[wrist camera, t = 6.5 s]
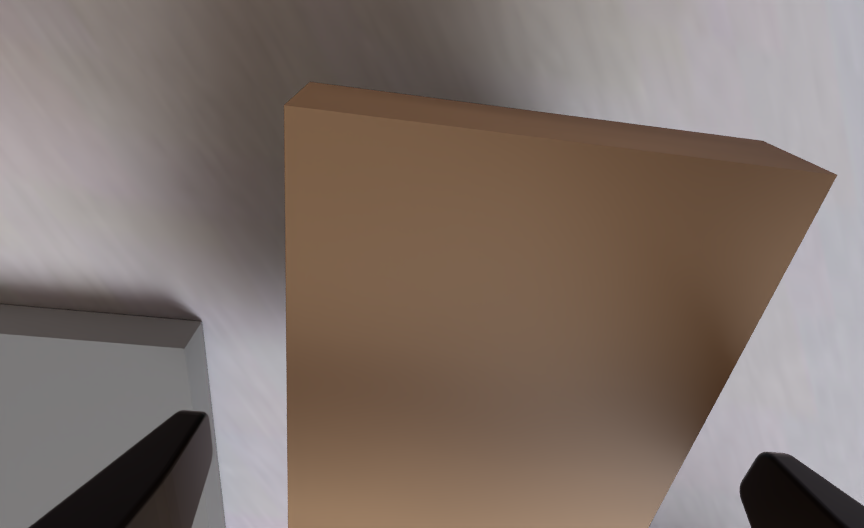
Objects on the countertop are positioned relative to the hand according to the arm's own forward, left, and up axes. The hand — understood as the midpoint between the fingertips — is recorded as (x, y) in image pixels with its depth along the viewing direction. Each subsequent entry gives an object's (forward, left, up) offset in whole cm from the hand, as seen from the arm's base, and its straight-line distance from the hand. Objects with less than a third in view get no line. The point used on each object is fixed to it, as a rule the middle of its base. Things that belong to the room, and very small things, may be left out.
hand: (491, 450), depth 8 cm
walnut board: (0, 0, -2) cm, 2 cm away
